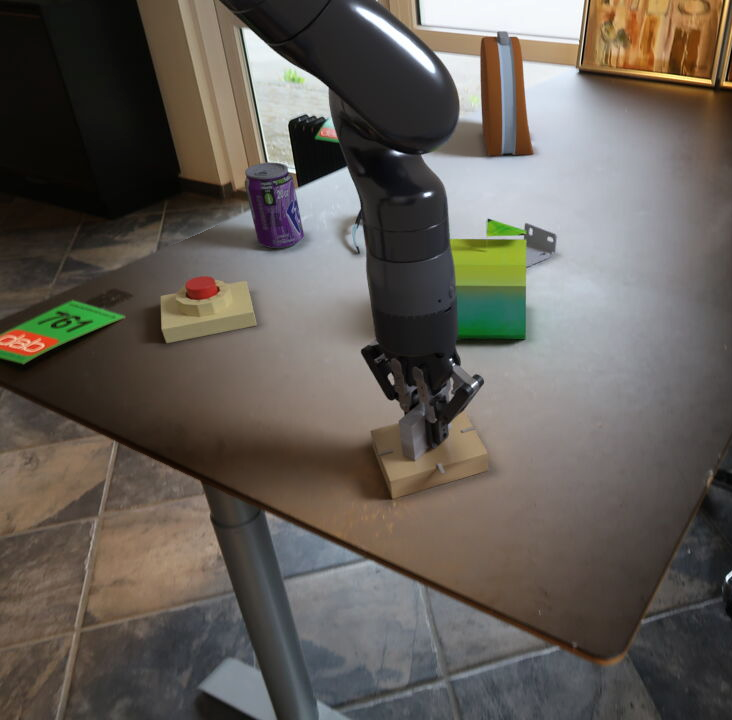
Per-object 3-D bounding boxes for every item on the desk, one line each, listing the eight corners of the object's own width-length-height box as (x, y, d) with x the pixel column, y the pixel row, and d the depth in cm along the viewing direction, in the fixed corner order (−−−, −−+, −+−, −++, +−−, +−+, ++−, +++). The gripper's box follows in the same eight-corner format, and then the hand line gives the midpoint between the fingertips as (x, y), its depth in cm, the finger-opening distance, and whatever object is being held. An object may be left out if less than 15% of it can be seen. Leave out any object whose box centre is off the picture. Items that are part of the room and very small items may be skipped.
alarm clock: (536, 160, 146) (538, 43, 133) (489, 162, 145) (486, 44, 132) (524, 127, 164) (524, 21, 151) (481, 128, 163) (478, 21, 149)
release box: (166, 343, 89) (156, 317, 87) (165, 309, 96) (156, 284, 94) (257, 325, 93) (250, 299, 91) (249, 294, 100) (243, 269, 97)
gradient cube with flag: (525, 347, 90) (526, 240, 81) (448, 346, 90) (441, 239, 81) (525, 303, 99) (526, 203, 90) (455, 303, 99) (449, 202, 90)
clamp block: (394, 507, 68) (391, 488, 66) (369, 441, 75) (366, 422, 74) (493, 477, 71) (492, 458, 70) (460, 417, 79) (459, 399, 77)
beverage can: (290, 254, 110) (275, 180, 103) (250, 248, 111) (232, 175, 104) (312, 235, 116) (299, 163, 109) (273, 229, 117) (258, 159, 110)
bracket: (482, 262, 109) (482, 242, 107) (525, 241, 115) (525, 222, 113) (514, 276, 105) (514, 255, 103) (556, 254, 112) (557, 234, 110)
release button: (189, 303, 91) (185, 291, 90) (188, 290, 93) (184, 279, 92) (219, 298, 92) (215, 286, 91) (217, 285, 94) (213, 273, 93)
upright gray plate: (415, 461, 69) (411, 424, 66) (402, 455, 70) (398, 418, 67) (451, 427, 73) (449, 391, 71) (439, 422, 74) (436, 386, 71)
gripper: (324, 287, 62) (351, 436, 72) (450, 333, 56) (461, 487, 66) (381, 254, 67) (399, 397, 77) (502, 293, 61) (504, 442, 71)
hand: (428, 438), depth 71 cm, fingers closed on upright gray plate
